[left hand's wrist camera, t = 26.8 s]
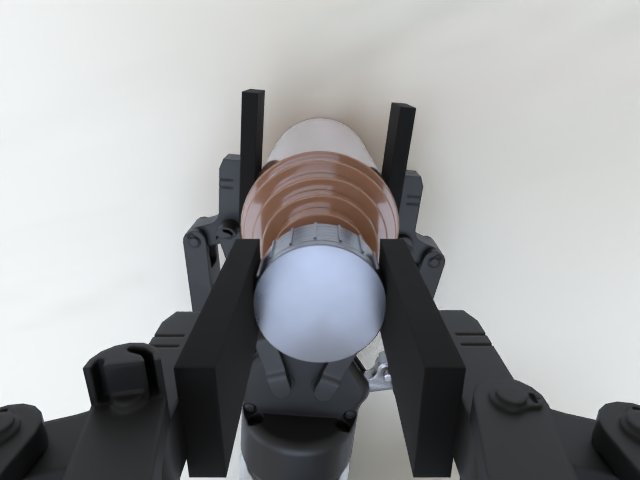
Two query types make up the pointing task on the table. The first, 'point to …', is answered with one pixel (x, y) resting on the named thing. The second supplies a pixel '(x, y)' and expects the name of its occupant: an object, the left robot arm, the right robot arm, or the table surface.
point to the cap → (319, 294)
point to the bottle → (319, 187)
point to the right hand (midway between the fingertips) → (328, 98)
